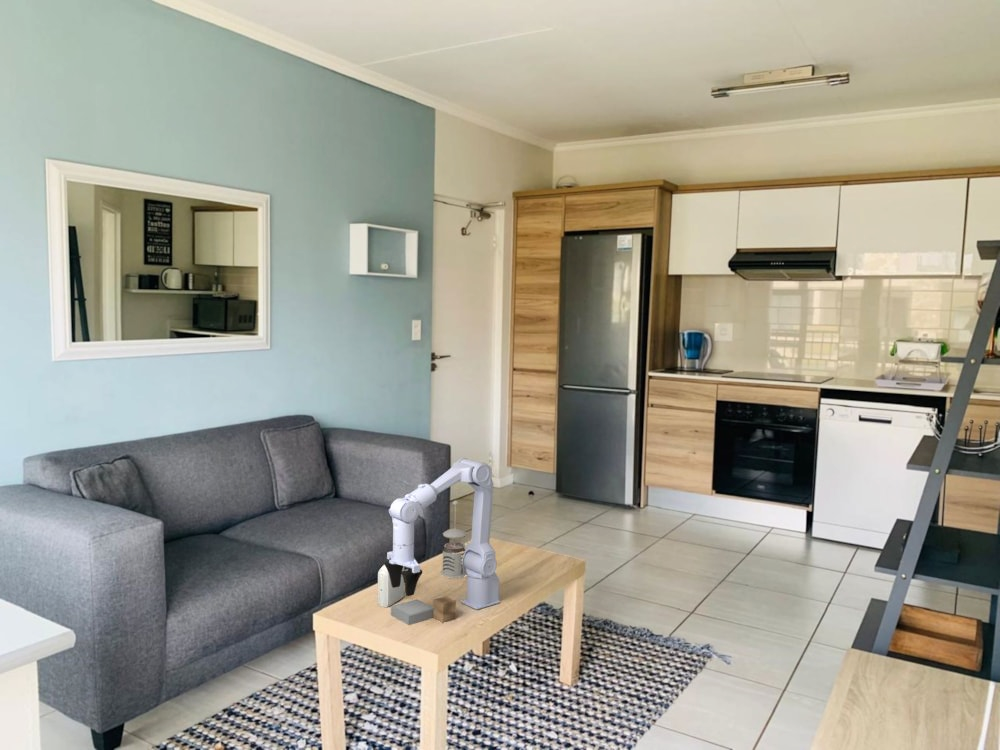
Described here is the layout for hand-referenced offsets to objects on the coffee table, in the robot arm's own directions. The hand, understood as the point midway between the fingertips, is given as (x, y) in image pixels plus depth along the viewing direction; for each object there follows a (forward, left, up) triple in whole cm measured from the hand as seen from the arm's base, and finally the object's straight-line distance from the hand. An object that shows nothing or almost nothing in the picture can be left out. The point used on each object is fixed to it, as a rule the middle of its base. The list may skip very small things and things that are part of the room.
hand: (402, 591), depth 204 cm
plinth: (-6, -4, -10) cm, 13 cm away
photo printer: (-7, -17, -10) cm, 21 cm away
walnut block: (-12, +3, -10) cm, 16 cm away
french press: (-37, -24, -10) cm, 46 cm away
